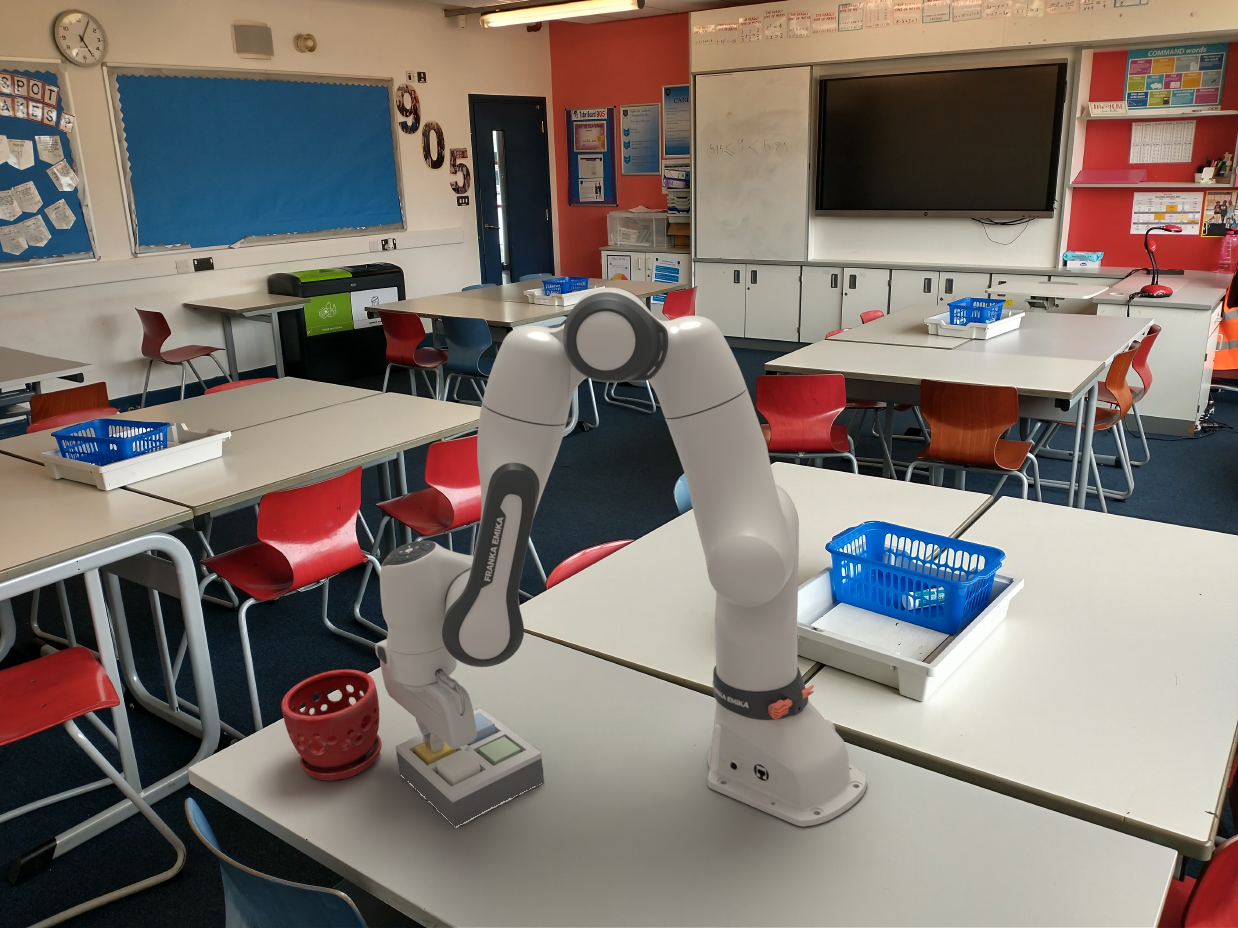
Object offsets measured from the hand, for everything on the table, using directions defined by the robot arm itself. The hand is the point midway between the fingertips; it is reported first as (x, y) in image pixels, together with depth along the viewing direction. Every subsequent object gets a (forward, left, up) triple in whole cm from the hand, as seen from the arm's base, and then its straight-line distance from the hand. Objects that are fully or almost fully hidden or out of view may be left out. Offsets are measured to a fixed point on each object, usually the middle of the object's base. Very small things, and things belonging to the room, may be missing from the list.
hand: (434, 746), depth 133 cm
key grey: (-7, 0, -2) cm, 7 cm away
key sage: (-7, -7, -3) cm, 10 cm away
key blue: (0, -7, -2) cm, 7 cm away
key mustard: (0, 0, -3) cm, 3 cm away
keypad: (-3, -3, -5) cm, 7 cm away
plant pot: (+14, +9, -5) cm, 17 cm away
